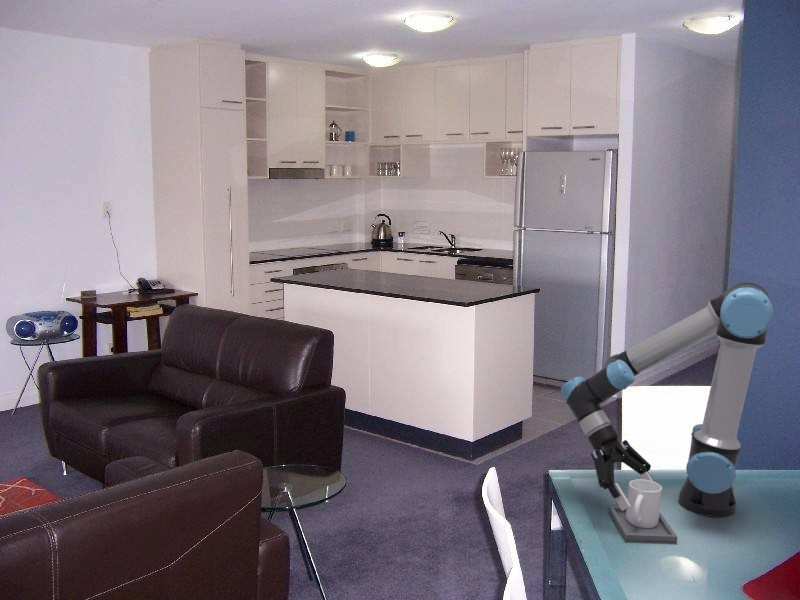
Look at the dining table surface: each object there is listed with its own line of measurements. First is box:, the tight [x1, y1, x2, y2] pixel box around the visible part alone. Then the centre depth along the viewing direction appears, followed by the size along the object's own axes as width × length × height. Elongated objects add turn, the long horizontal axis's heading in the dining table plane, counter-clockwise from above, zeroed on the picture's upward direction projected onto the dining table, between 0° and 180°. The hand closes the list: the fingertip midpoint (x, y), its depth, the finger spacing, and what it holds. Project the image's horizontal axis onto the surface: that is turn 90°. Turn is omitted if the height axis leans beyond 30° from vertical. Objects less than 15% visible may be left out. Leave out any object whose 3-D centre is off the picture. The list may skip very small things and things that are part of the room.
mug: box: [626, 478, 663, 528], centre depth 213 cm, size 12×8×10 cm
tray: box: [608, 505, 678, 545], centre depth 213 cm, size 13×17×2 cm
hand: (641, 502), depth 212 cm, fingers open, 13 cm apart
